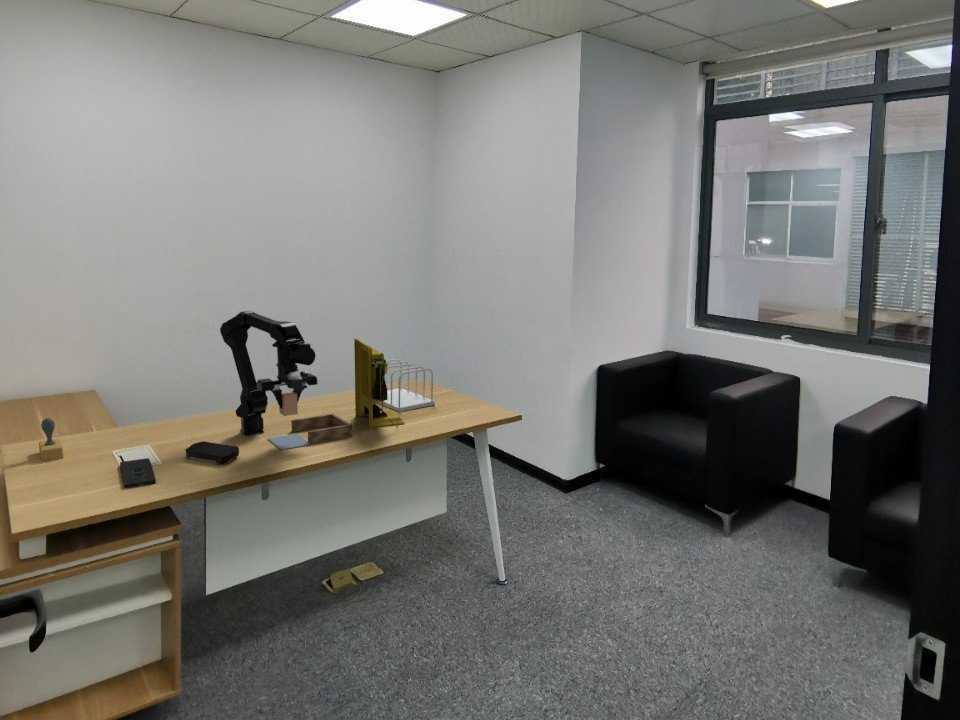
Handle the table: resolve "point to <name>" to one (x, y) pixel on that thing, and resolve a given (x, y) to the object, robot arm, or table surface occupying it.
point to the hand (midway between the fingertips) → (288, 407)
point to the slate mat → (289, 441)
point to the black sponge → (212, 452)
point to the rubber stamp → (50, 443)
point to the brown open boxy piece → (335, 432)
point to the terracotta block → (289, 403)
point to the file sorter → (407, 391)
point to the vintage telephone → (372, 386)
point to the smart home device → (137, 473)
